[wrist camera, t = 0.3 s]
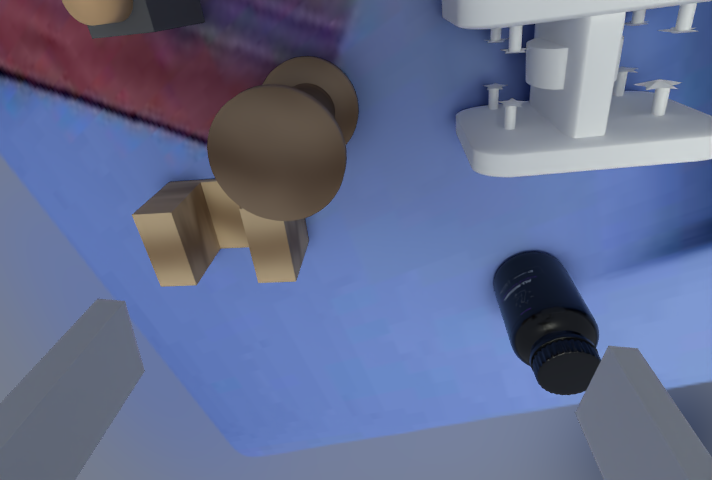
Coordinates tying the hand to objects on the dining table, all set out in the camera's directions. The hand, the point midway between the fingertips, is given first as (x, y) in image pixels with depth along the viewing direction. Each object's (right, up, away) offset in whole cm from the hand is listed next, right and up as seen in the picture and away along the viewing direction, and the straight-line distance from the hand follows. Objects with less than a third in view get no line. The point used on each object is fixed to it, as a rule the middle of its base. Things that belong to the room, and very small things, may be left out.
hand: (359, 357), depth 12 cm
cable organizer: (+14, +18, +20) cm, 30 cm away
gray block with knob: (-14, +21, +19) cm, 32 cm away
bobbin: (-4, +14, +23) cm, 27 cm away
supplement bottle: (+17, 0, +30) cm, 34 cm away
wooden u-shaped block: (-11, +6, +28) cm, 31 cm away
